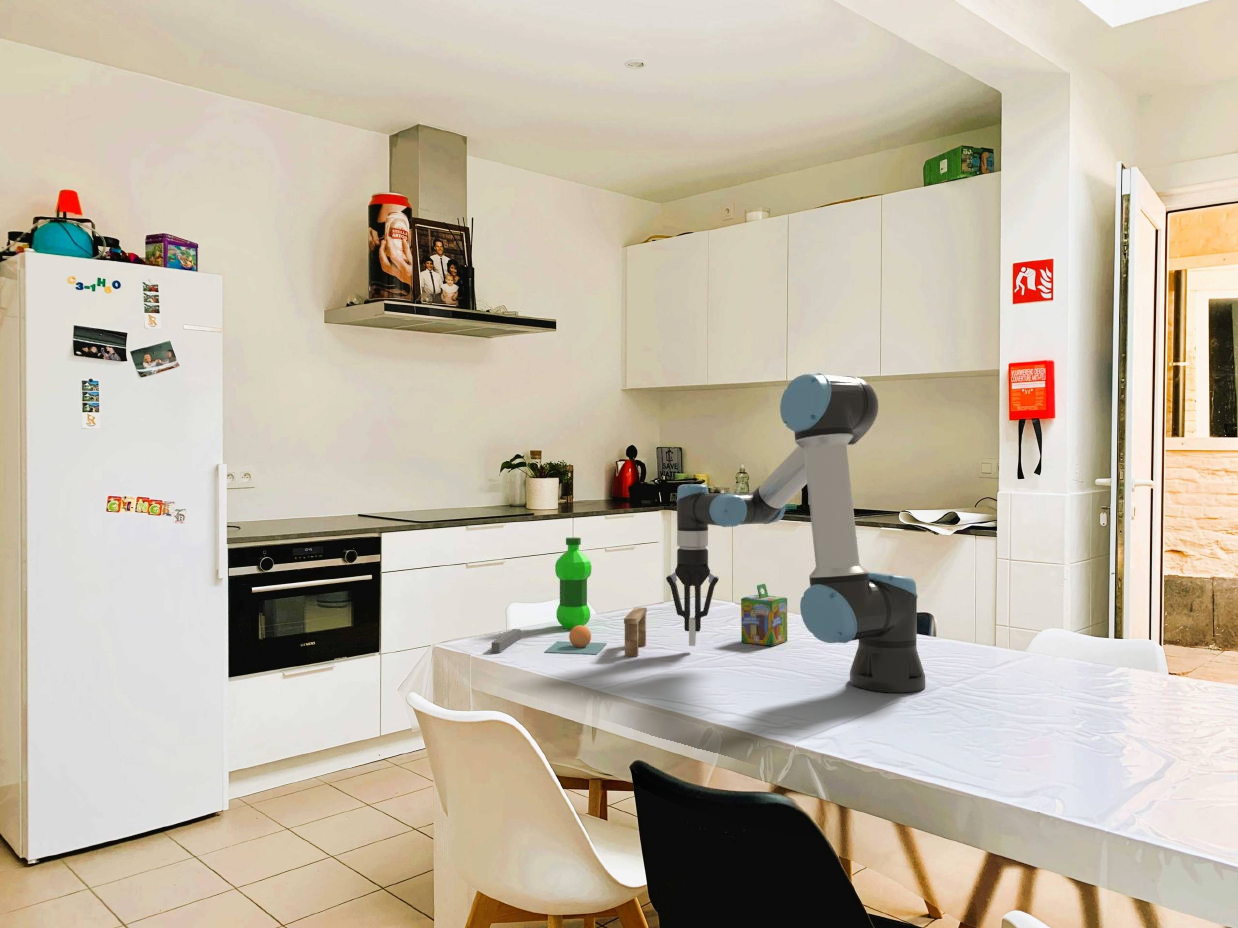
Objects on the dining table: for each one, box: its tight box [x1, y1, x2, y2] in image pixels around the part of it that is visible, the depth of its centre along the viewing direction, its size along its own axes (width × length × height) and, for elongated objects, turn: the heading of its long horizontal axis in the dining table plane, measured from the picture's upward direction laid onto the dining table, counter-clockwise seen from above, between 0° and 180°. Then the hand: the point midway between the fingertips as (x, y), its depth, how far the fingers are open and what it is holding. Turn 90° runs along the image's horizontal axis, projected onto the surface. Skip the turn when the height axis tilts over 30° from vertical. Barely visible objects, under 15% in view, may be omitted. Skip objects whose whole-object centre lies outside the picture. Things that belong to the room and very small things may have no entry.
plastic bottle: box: [554, 537, 592, 630], centre depth 253 cm, size 10×10×25 cm
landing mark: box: [543, 640, 608, 656], centre depth 225 cm, size 13×13×1 cm
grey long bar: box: [491, 628, 522, 654], centre depth 228 cm, size 18×2×2 cm, turn 170°
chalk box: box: [740, 583, 788, 647], centre depth 233 cm, size 9×9×15 cm
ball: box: [568, 625, 592, 647], centre depth 226 cm, size 6×6×6 cm
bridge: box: [623, 607, 648, 658], centre depth 222 cm, size 3×16×9 cm, turn 170°
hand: (692, 644), depth 220 cm, fingers closed
